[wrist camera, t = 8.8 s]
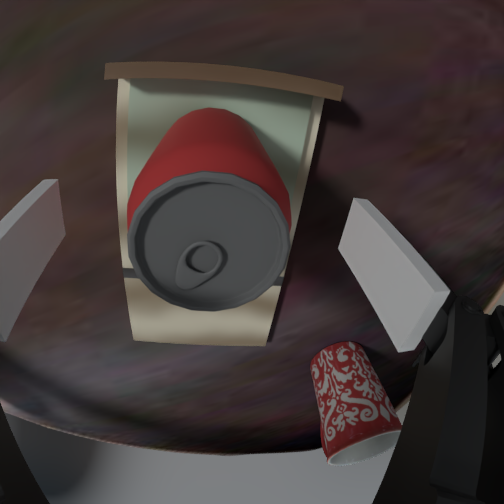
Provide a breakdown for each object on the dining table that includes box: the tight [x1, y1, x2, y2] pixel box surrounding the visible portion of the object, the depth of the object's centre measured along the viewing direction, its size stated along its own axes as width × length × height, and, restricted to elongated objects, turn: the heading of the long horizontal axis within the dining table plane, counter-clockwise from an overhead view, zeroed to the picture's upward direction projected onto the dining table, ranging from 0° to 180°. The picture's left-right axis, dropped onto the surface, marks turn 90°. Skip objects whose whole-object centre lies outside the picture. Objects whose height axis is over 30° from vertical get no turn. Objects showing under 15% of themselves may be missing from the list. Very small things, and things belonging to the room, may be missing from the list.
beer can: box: [127, 107, 292, 312], centre depth 15 cm, size 7×7×12 cm
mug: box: [310, 341, 402, 466], centre depth 33 cm, size 13×9×14 cm
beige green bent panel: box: [104, 62, 344, 346], centre depth 24 cm, size 26×14×4 cm, turn 172°
